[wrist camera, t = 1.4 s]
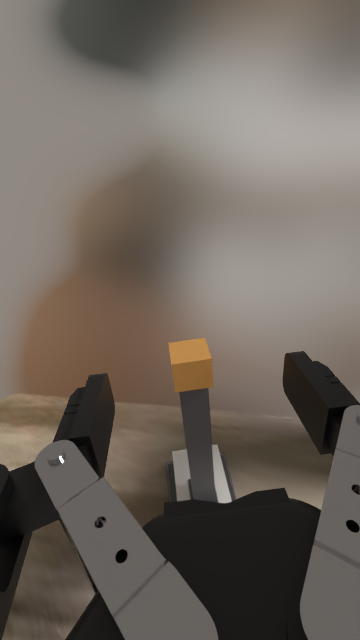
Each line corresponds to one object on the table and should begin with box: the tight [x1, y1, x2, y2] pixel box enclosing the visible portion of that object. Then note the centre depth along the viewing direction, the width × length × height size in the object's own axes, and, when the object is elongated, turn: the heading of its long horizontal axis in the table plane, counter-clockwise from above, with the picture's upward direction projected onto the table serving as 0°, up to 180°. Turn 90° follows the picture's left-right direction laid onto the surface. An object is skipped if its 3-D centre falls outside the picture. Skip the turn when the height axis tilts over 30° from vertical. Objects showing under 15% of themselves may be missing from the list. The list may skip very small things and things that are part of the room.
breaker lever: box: [169, 338, 215, 501], centre depth 30 cm, size 3×3×21 cm
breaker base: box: [166, 444, 236, 503], centre depth 38 cm, size 18×9×6 cm, turn 7°
